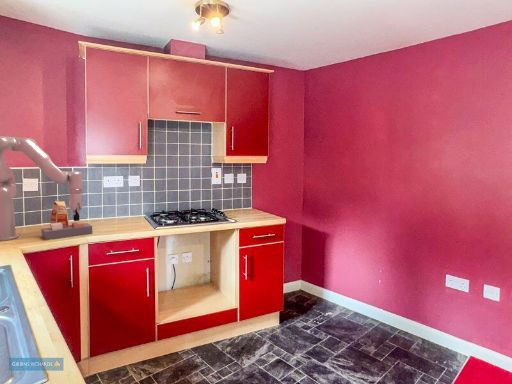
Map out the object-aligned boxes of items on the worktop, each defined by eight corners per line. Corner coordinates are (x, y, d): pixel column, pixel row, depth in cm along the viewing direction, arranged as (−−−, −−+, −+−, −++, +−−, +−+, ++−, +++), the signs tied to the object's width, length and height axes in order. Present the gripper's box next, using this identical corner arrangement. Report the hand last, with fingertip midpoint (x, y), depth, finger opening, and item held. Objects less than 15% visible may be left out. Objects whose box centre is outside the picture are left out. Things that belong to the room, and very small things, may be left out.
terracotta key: (71, 230, 233) (71, 222, 232) (81, 229, 237) (81, 221, 236) (74, 232, 229) (73, 224, 228) (84, 230, 232) (83, 223, 232)
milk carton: (57, 232, 237) (55, 201, 234) (49, 230, 241) (47, 200, 239) (71, 229, 244) (69, 199, 242) (63, 227, 249) (61, 198, 247)
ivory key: (50, 231, 225) (49, 223, 225) (60, 230, 229) (60, 222, 228) (52, 233, 221) (52, 225, 220) (62, 232, 225) (62, 223, 224)
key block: (41, 236, 225) (41, 228, 224) (87, 230, 242) (86, 223, 241) (45, 240, 217) (45, 231, 216) (92, 233, 233) (92, 225, 233)
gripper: (65, 190, 233) (66, 219, 235) (72, 193, 222) (73, 223, 224) (78, 189, 238) (79, 218, 240) (85, 192, 226) (86, 222, 228)
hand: (76, 220), depth 232 cm, fingers closed
